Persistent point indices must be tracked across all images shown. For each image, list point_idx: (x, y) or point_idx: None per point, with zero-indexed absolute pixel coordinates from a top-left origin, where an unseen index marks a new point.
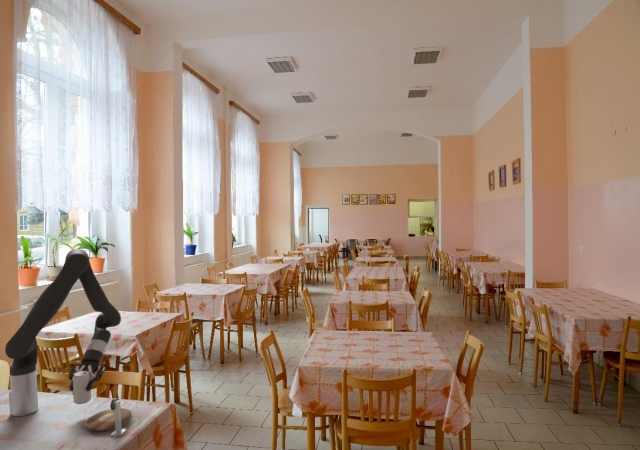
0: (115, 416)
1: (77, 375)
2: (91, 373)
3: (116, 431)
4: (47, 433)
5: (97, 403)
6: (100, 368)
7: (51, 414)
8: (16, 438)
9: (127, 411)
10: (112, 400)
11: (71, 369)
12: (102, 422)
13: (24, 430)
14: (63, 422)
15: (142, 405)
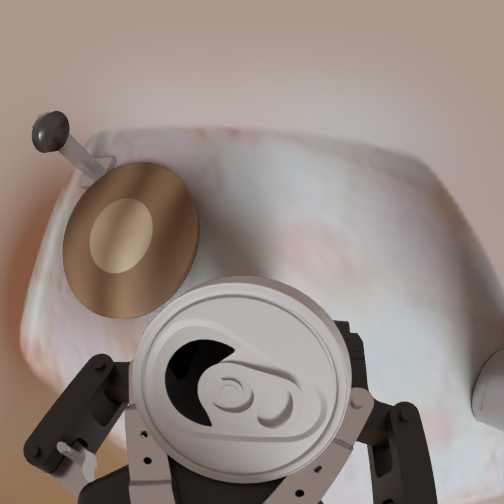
0: (73, 139)
1: (256, 301)
2: (131, 412)
3: (97, 163)
4: (341, 202)
5: None
6: (49, 440)
7: (417, 372)
8: (422, 187)
9: (73, 276)
10: (47, 114)
11: (431, 497)
12: (133, 195)
13: (437, 241)
14: (331, 290)
15: (74, 377)
